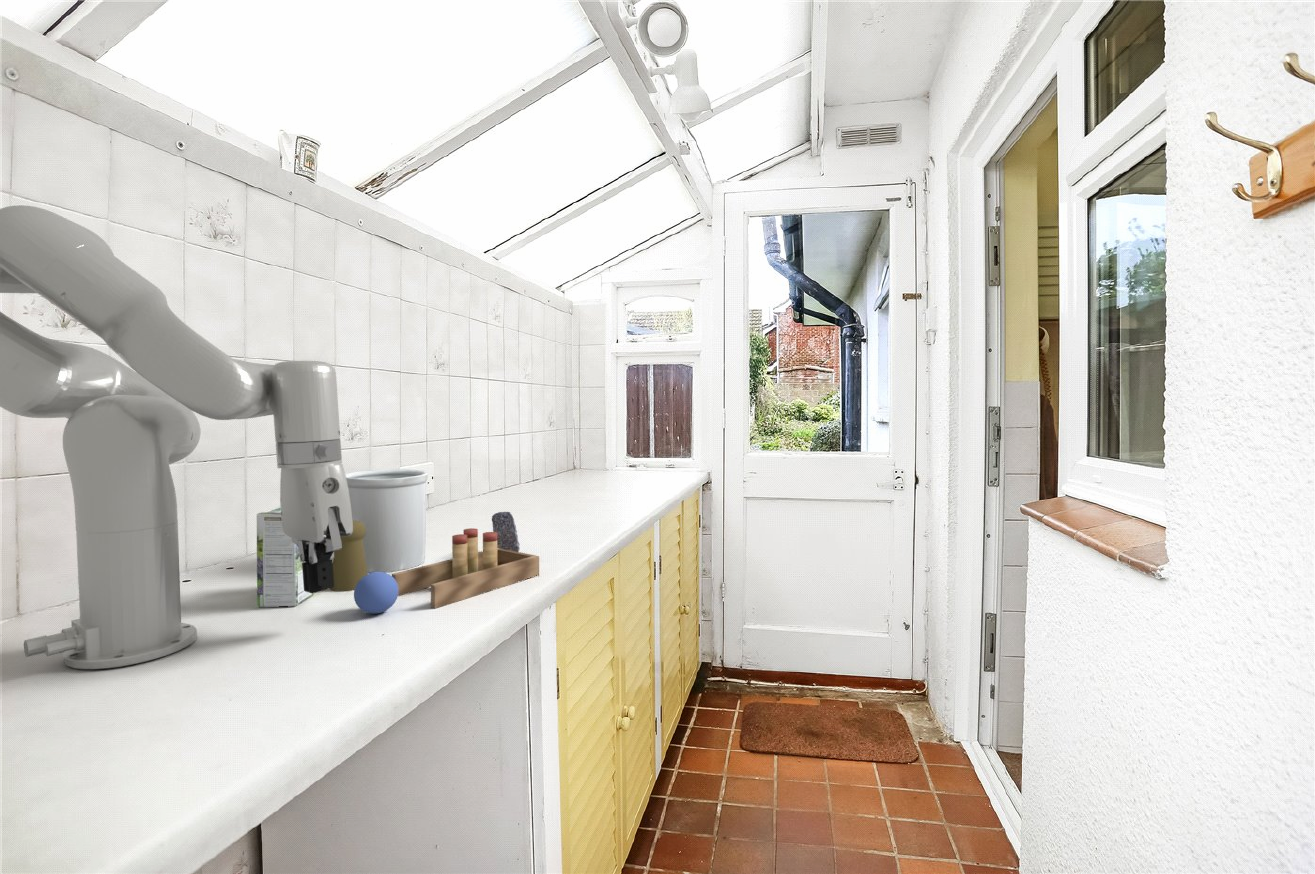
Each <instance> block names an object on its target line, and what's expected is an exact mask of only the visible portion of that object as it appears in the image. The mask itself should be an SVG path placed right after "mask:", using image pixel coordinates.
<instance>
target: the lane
mask: <svg viewBox="0 0 1315 874" xmlns="http://www.w3.org/2000/svg"><path fill="white" fill-rule="evenodd" d="M536 575H539V576H540V556H539V555H535V554H530V553H525V552H520V551H519V552H516V551H511V550H506V549H501V548H497V566H495V567H492V568H488V569H485V570H483V551H478V571H477V572H474V573H470V574H467V575H463V576H460V577H456V578H453V565H452V558H451V559H447V560H443V561H439V562H435V563H430V564H427V565H426V564H425V565H422V566H419V567H418V566H417V567H413V568H409V569H405V570H401V571H397V572H393V573H391V576H392V577H393V578H394V579H395V580H396V582H397V584H398V590H399V591H398V597H399V596H402V595H405V594H409V593H412V592H416V591H420V590H423V589H427V588H430V608H431V609H438V608H441V607H444V605H445V606H448V605H451V604H454V603H457V602H461V601H463V600H465V599H466V598H467V599H469V597H470V598H472V596H473V597H475V595H476V596H479V595H482V594H484V592H485V593H488V592H487V591H489V592H491V591H490V590H492V591H494V590H493V589H495V590H497V589H496V588H498V589H501V588H504V587H507V586H511V585H513V583H514V584H516V582H517V583H519V582H518V581H520V582H523V581H525V580H524V579H526V580H528V579H527V578H529V579H531V578H530V577H532V578H534V577H533V576H536ZM536 577H537V576H536ZM522 580H523V581H522ZM481 593H482V594H481ZM447 604H448V605H447Z"/></svg>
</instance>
